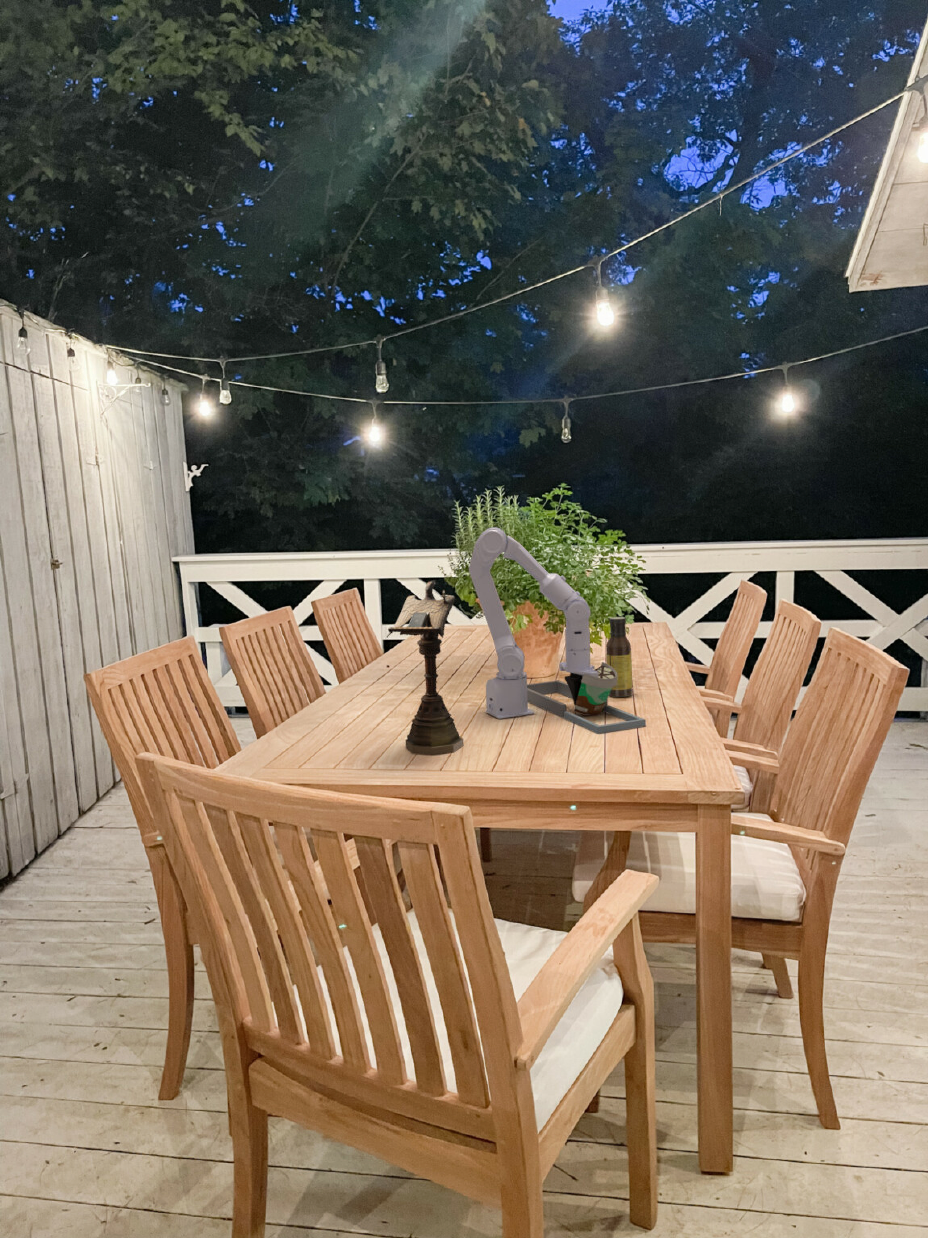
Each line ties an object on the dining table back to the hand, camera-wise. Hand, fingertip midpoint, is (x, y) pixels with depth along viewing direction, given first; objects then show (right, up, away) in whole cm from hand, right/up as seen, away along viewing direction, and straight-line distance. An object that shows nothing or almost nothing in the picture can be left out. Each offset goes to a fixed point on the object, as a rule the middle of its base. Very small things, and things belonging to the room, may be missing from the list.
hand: (579, 705), depth 196 cm
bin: (-3, 0, +8) cm, 9 cm away
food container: (+3, -1, -2) cm, 4 cm away
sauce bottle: (+12, +1, +15) cm, 19 cm away
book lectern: (-33, -7, -26) cm, 43 cm away
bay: (+4, -3, -9) cm, 10 cm away
